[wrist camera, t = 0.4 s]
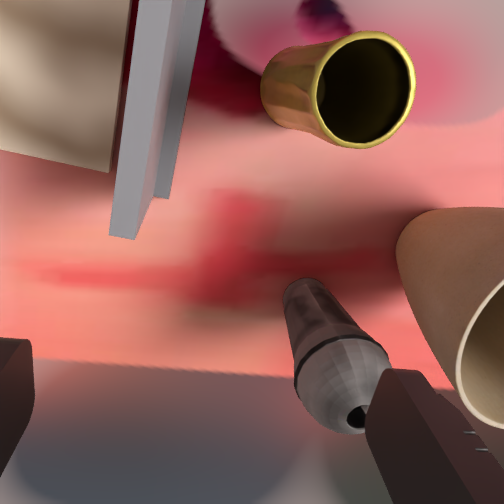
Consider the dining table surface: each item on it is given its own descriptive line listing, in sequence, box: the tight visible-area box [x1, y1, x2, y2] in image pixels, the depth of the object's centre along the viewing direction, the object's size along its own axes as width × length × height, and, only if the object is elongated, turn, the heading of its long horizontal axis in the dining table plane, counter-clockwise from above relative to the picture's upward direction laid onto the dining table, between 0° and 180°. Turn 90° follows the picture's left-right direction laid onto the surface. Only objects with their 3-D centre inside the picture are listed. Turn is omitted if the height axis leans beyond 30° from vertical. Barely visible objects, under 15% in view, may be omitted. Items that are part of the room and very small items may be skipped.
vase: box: [260, 31, 416, 149], centre depth 25 cm, size 6×6×14 cm
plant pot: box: [396, 207, 504, 429], centre depth 31 cm, size 15×15×16 cm
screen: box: [109, 0, 205, 240], centre depth 24 cm, size 22×4×11 cm, turn 166°
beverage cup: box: [283, 278, 392, 434], centre depth 30 cm, size 7×7×20 cm
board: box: [0, 0, 132, 173], centre depth 27 cm, size 20×12×1 cm, turn 166°
